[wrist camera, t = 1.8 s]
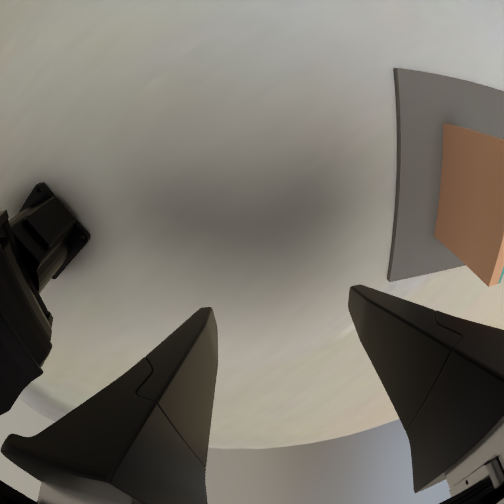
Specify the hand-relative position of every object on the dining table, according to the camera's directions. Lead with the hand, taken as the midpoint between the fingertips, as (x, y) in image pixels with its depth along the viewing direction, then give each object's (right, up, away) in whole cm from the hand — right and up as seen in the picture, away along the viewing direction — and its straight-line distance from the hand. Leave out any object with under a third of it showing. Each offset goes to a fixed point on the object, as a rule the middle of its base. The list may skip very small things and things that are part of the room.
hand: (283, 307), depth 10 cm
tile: (+15, +8, +10) cm, 20 cm away
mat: (+20, +9, +11) cm, 24 cm away
